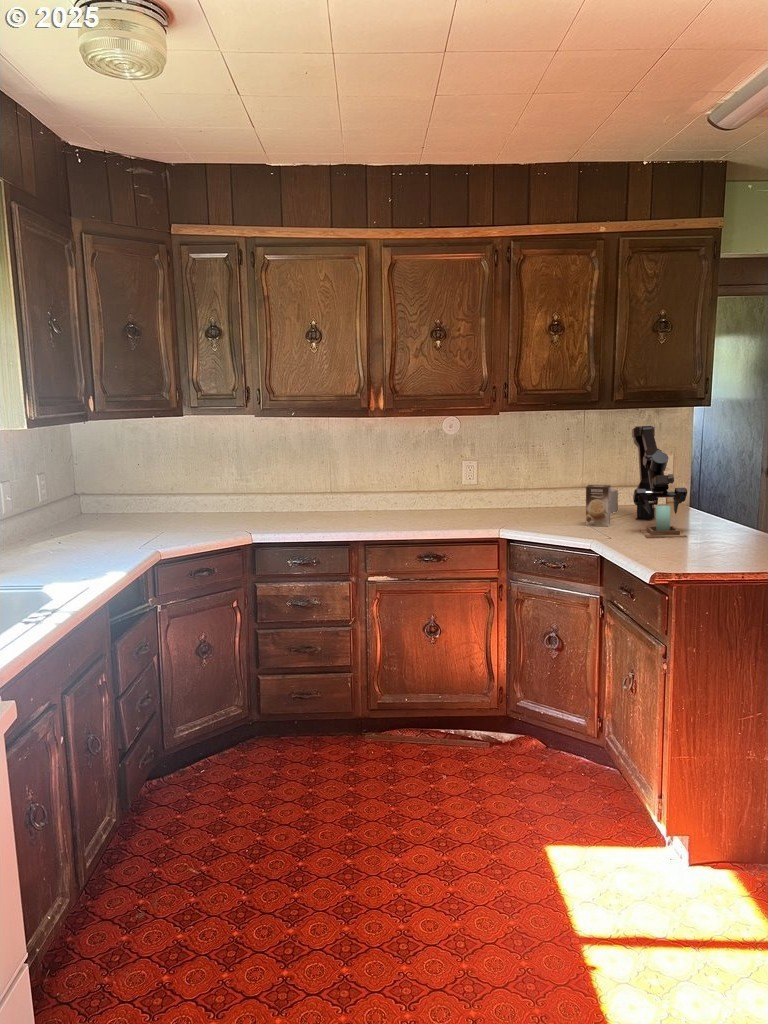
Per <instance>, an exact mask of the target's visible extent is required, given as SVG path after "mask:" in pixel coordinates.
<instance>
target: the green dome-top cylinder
mask: <svg viewBox="0 0 768 1024" xmlns="http://www.w3.org/2000/svg"><path fill="white" fill-rule="evenodd" d="M655 508H656V513H655V526H656V531H670V526H671V505H669V504H668V505H666V504H657V505H655Z"/></svg>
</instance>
